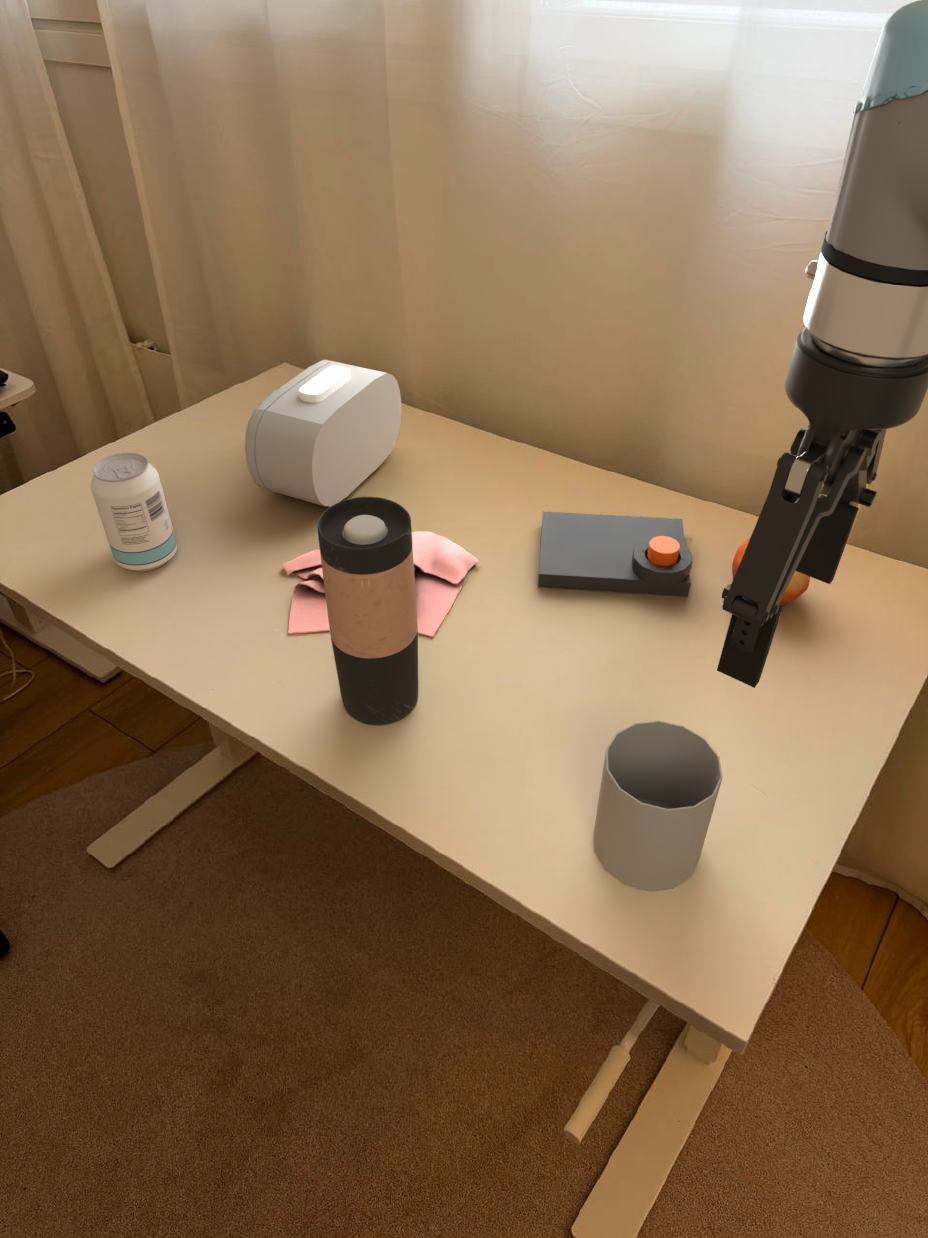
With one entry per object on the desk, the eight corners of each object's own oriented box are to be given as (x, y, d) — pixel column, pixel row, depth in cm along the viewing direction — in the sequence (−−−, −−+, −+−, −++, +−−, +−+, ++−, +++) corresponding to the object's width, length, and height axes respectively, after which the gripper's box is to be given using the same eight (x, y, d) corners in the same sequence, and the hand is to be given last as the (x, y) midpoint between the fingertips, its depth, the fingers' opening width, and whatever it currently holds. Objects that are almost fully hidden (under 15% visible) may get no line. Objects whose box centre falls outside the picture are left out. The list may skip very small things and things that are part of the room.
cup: (576, 819, 73) (586, 737, 67) (663, 790, 75) (682, 709, 69) (625, 905, 67) (642, 825, 61) (719, 871, 69) (745, 790, 63)
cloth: (500, 555, 101) (500, 538, 99) (400, 676, 86) (399, 657, 84) (348, 509, 108) (346, 492, 106) (232, 613, 93) (228, 595, 92)
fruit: (744, 545, 99) (790, 509, 93) (787, 603, 98) (837, 571, 91) (697, 573, 96) (742, 539, 89) (742, 634, 94) (790, 604, 87)
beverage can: (165, 533, 104) (140, 442, 97) (189, 562, 100) (165, 469, 92) (107, 554, 101) (76, 462, 93) (129, 585, 97) (99, 491, 89)
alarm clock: (343, 433, 122) (333, 338, 113) (403, 448, 119) (398, 352, 110) (253, 508, 108) (233, 407, 99) (319, 528, 105) (305, 425, 96)
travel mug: (323, 696, 84) (296, 519, 71) (387, 658, 88) (372, 484, 75) (373, 741, 80) (354, 562, 67) (437, 699, 84) (432, 523, 71)
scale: (679, 532, 104) (684, 507, 102) (689, 600, 95) (694, 574, 92) (542, 524, 105) (543, 499, 103) (537, 591, 96) (539, 565, 94)
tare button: (676, 549, 96) (678, 536, 95) (678, 567, 94) (681, 554, 93) (646, 548, 96) (648, 534, 95) (647, 566, 94) (650, 552, 93)
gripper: (876, 258, 59) (795, 522, 73) (707, 403, 44) (646, 700, 58) (997, 285, 55) (888, 557, 69) (859, 452, 40) (755, 755, 55)
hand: (778, 622), depth 64 cm, fingers open, 13 cm apart
